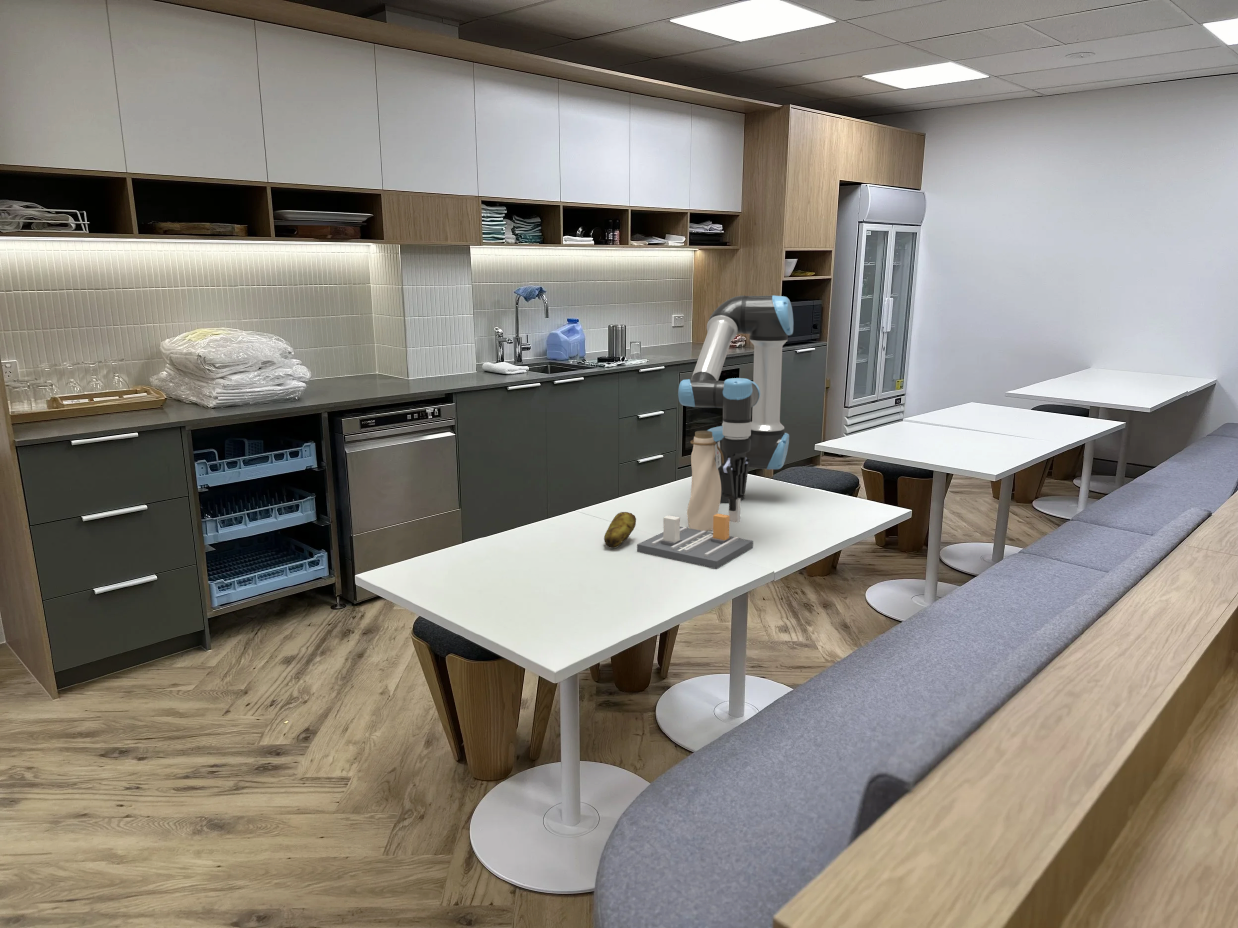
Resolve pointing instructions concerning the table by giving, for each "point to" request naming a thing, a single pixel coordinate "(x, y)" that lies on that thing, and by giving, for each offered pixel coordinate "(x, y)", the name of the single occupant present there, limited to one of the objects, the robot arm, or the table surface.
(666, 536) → the fader
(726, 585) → the table surface
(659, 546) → the console
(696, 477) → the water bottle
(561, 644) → the table surface
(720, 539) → the fader
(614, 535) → the potato
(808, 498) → the table surface
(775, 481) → the table surface
